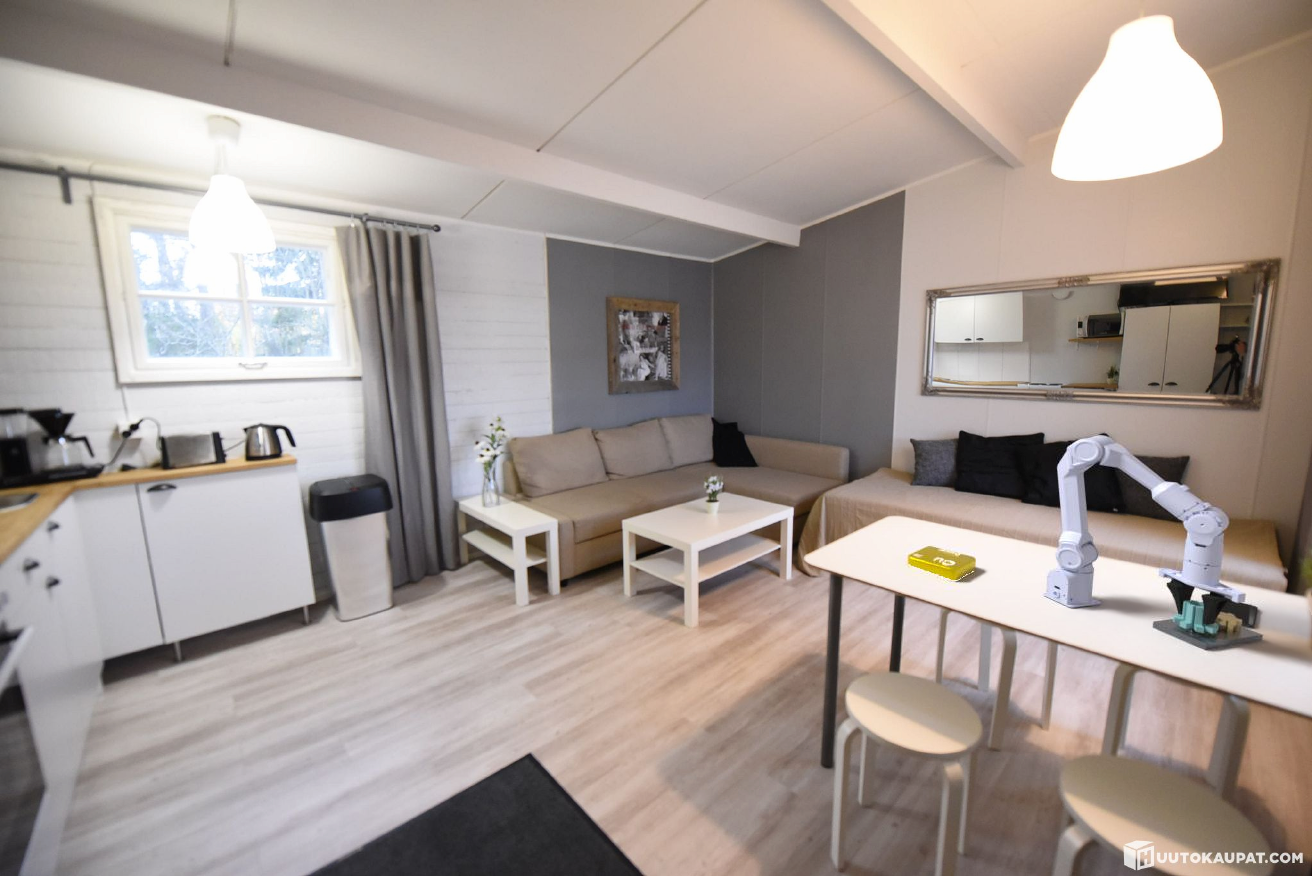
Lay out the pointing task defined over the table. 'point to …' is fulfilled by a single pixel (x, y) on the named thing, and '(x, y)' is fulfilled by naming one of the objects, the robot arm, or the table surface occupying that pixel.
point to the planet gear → (1194, 617)
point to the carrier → (1225, 636)
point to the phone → (1242, 613)
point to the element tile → (942, 562)
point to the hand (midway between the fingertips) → (1195, 618)
